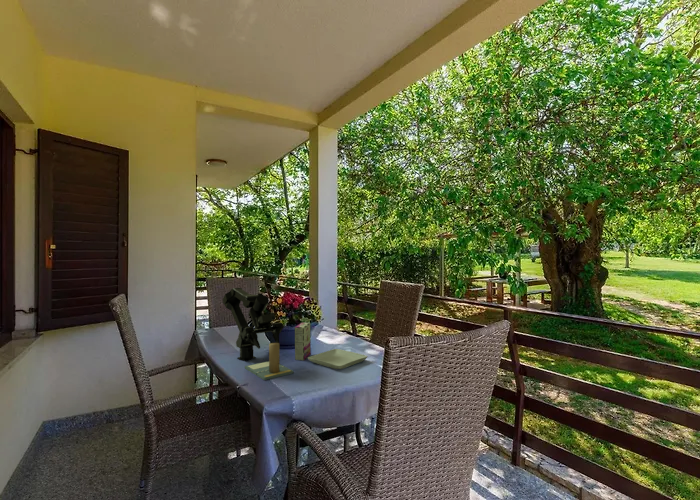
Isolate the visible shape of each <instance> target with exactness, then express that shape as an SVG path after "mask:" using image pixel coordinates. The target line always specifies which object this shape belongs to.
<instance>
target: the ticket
mask: <svg viewBox="0 0 700 500" xmlns="http://www.w3.org/2000/svg"><path fill="white" fill-rule="evenodd" d="M283 367H286V366H285V365H282V364H281V363H279V368H283ZM245 369H246V371H248V372H250V373H251V374H253V375H255V376H256V377H258V376H257V373H261V372H265V371H269V360H267V361H262V362H258V363H253V364H248V365H244V370H245Z"/></svg>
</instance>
